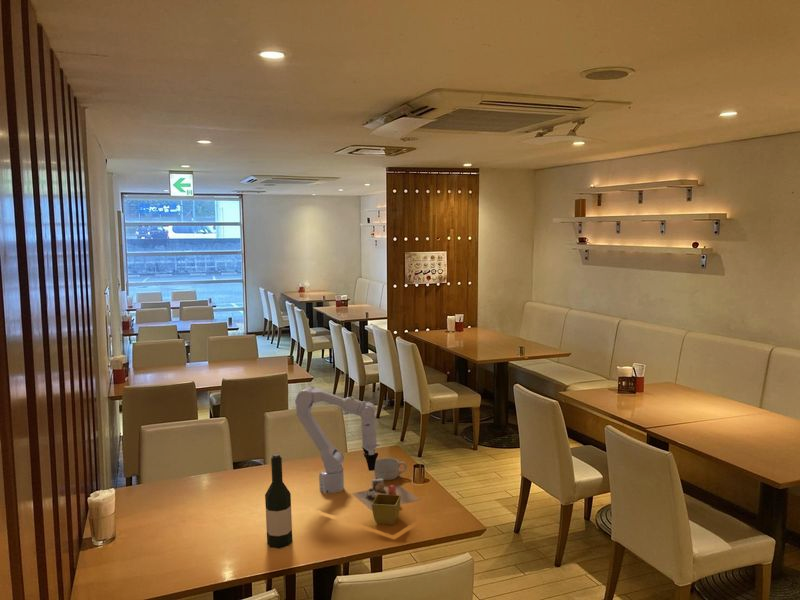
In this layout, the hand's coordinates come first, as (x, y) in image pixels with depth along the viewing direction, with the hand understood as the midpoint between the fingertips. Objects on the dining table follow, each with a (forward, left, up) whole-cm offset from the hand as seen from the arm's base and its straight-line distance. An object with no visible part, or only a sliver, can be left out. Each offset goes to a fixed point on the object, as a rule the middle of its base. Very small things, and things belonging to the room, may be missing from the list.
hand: (370, 466), depth 242 cm
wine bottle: (-44, -23, -11) cm, 51 cm away
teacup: (+13, +8, -11) cm, 19 cm away
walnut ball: (+2, -4, -9) cm, 10 cm away
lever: (-1, -11, -9) cm, 14 cm away
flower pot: (-7, -29, -11) cm, 32 cm away
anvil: (+2, -1, -9) cm, 10 cm away
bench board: (+2, -9, -10) cm, 14 cm away
